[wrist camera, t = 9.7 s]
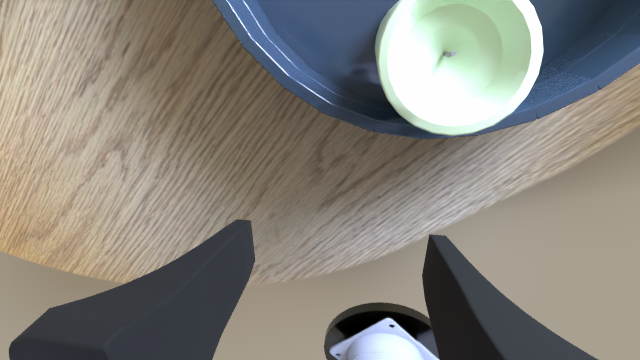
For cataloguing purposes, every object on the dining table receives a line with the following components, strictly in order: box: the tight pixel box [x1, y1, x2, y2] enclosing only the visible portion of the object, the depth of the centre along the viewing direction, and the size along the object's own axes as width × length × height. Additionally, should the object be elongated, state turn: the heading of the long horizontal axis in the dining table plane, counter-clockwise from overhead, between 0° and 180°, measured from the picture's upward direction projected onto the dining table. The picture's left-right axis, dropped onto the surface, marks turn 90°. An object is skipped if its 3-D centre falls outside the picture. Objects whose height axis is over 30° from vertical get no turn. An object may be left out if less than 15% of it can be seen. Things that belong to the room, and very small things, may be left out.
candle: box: [375, 0, 543, 136], centre depth 14 cm, size 5×5×8 cm
